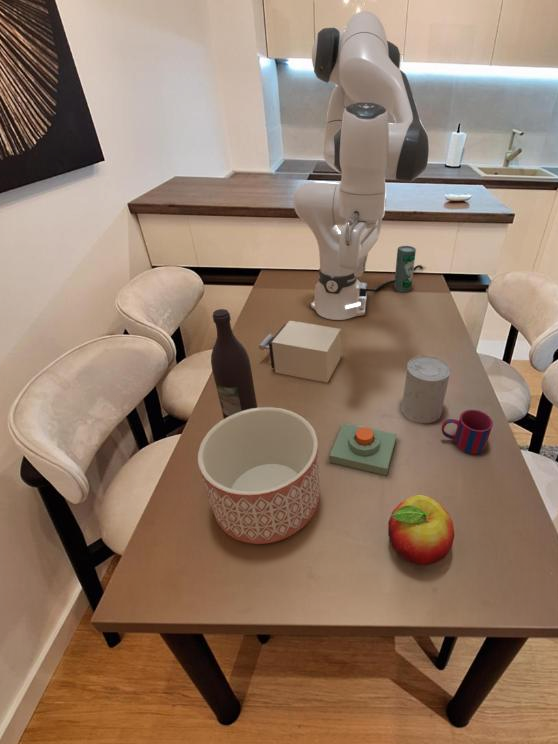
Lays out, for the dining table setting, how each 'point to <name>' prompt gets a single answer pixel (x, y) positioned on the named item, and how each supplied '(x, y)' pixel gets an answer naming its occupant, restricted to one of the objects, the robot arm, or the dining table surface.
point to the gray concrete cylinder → (425, 388)
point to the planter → (261, 473)
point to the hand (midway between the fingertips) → (359, 274)
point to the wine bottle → (231, 369)
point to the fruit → (421, 530)
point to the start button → (364, 436)
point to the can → (404, 268)
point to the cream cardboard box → (307, 351)
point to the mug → (471, 431)
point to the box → (363, 450)
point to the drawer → (270, 345)
